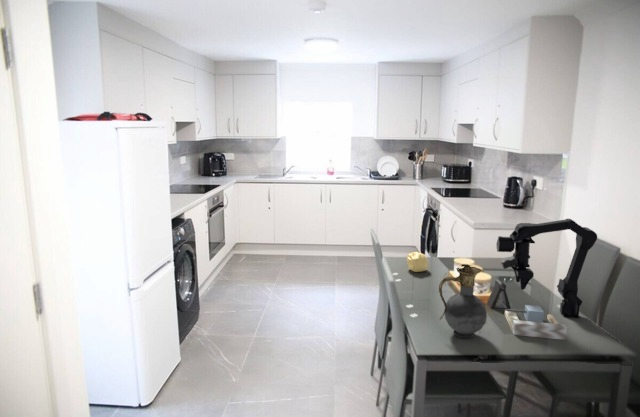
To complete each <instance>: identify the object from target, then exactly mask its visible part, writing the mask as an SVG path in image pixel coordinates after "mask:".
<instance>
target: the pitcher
mask: <svg viewBox="0 0 640 417" xmlns="http://www.w3.org/2000/svg"><path fill="white" fill-rule="evenodd" d="M460 266H461V267H462V268H460V267H457V268H456V267H455V269H456V271H457V273H458V275H457V276H456V277H455V276H450V275H449V276H446V277H443V278H442V279H441V280H440V282H439V285H438V293H439V296H440V298H441V300H442V303H443V306H444V311H443V313H442V314H441V315H440V318H439V321H441V319H443V317H444V318H445V320H446V323H447V325H448V326H449V327H450V328H451V329H452V330H453V331H452V332H453V335H454V336H456V338H457V337H458V338H460V339H472V338H473V337H474V336H475V333H477V332H479V331H480V330H482V328H483V327H484V326H485V325H486V321H487V309H486V306H485V303H484V302H483V301H482V300H481V298H479V297H478V296H477V295H475V294H474V288H475V286H476V285H475V284H476V282H475V281H476V280H475V278H476V276H477V275H478V274H480V272H483V273H484V270H482V269H481V268H478V267H475V266H473V265H471V264H467V263H463V264H461V265H460ZM449 281H451V282H456V283H459V286H460V287H459V288H460V290H459V292H458V293H455V294H452V295H451V296H450V297H449V298H448V299H447V301H446V300H445V298H444V296H443V290H442V288H443V285H444V284H445V283H446V282H449Z"/></svg>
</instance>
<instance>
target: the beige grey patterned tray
mask: <svg viewBox="0 0 640 417" xmlns="http://www.w3.org/2000/svg"><path fill="white" fill-rule="evenodd" d="M504 316H505V318H506V321H507V323H508V325H509V327H510V329H511V330H510V331H511V333H513V335H515V336H524V337H534V338H543V339H553V340H563V341H565V340H567V332H568V327H567V326H566V324H562V323H559V322H558V321H557V320H556V319H555V317H554V316H553V315H552V314H547V316H546V317H547V320H548V322H543V323H542V322H531V321H527V320H520V319H519V317H518V315H517V312H512V311H507V310H506V309H505V310H504Z"/></svg>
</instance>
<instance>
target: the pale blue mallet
mask: <svg viewBox="0 0 640 417" xmlns="http://www.w3.org/2000/svg"><path fill="white" fill-rule="evenodd" d="M506 310H507V311H512V312H515V313H523V316H524V318H525V321H531V322H542V323H544V315H545V314H544V313H545V312H544V310H543V309H542V307H541V306H540V305H528V304H525V305H524V309H515V308H514V309H513V308H511V309H505V311H506Z"/></svg>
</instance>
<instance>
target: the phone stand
mask: <svg viewBox="0 0 640 417" xmlns="http://www.w3.org/2000/svg"><path fill="white" fill-rule="evenodd" d="M506 288H507V285H506V284H505V283H504V282H503V281H502V280H501V279H500V278H499V279H496V280H494V286H493V289H492V290H491V293H490V295H489V297H490V298H489V297H488V299H489V300H488V299H487V301H488V302H487V301H486V304H487V305H488V306H489V308H490V309H494V310H495V309H496V310H498V309H499V310H500V309H501V310H506V309H512V307H511V304H510V301H509V297H508V295H507V291H506ZM499 297H500V298H501V302H498V300H499Z"/></svg>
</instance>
